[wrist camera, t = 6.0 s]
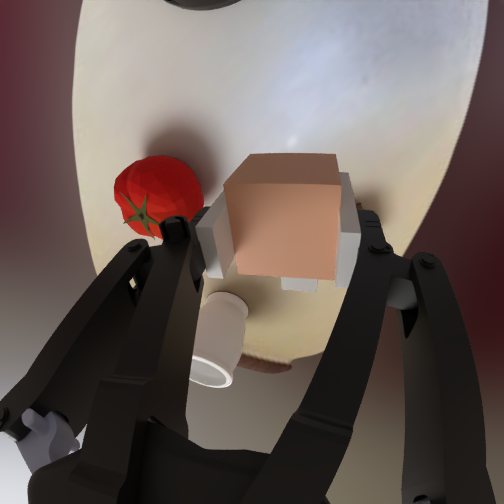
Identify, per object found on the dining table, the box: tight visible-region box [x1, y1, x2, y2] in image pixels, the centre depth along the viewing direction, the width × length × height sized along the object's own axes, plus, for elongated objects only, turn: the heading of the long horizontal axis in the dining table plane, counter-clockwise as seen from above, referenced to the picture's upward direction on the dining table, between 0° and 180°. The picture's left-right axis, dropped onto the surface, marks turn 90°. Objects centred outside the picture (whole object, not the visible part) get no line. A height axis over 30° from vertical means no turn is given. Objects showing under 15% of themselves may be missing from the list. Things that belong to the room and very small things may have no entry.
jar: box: [189, 292, 248, 388], centre depth 46 cm, size 11×10×15 cm
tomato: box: [114, 156, 204, 240], centre depth 34 cm, size 11×13×10 cm
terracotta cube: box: [223, 153, 341, 280], centre depth 14 cm, size 5×5×5 cm
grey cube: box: [281, 277, 318, 292], centre depth 39 cm, size 5×5×5 cm
